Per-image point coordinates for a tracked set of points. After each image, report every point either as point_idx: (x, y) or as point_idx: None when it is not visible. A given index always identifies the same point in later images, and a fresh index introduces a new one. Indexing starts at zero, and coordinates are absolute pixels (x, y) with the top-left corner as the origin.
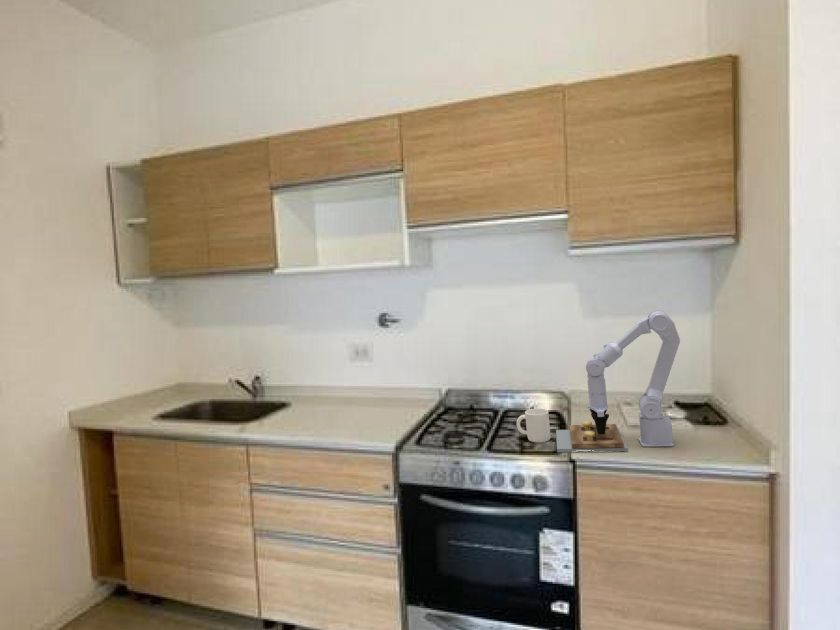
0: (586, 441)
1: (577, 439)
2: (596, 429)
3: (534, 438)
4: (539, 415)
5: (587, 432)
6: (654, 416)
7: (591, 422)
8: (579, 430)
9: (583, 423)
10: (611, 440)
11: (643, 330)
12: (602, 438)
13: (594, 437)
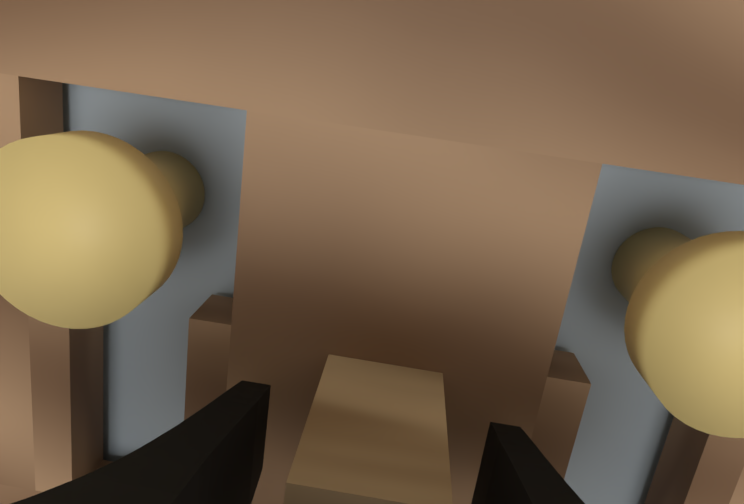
0: (10, 123)
1: None
2: (314, 405)
3: None
4: None
5: (48, 198)
6: None
7: (710, 430)
8: (630, 129)
9: (714, 260)
10: (49, 468)
11: None
12: (190, 388)
13: (239, 294)
